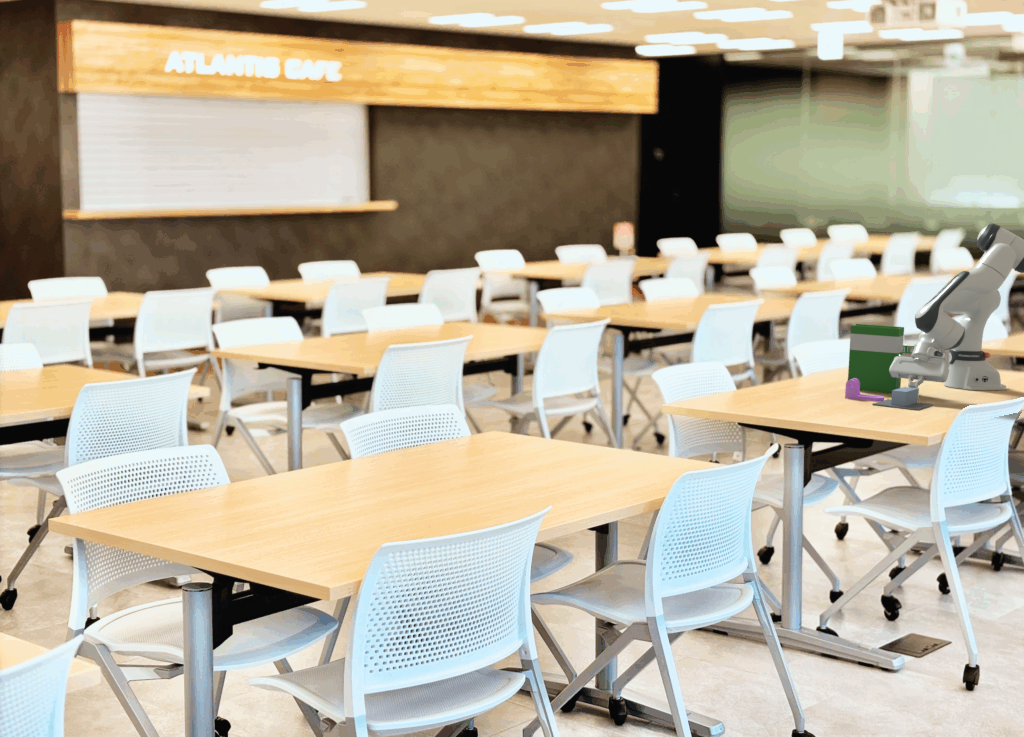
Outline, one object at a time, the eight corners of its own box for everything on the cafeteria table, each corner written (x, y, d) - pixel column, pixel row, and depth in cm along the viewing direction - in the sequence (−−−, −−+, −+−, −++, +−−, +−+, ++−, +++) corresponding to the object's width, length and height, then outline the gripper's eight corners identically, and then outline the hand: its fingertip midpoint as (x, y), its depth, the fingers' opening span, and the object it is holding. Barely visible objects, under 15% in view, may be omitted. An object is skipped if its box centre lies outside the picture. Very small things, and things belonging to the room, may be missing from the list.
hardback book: (847, 389, 492) (851, 325, 489) (852, 387, 498) (856, 323, 495) (895, 394, 483) (899, 328, 480) (900, 391, 490) (904, 327, 486)
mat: (888, 400, 468) (888, 399, 468) (932, 405, 458) (932, 404, 458) (872, 404, 457) (872, 403, 457) (917, 410, 447) (917, 409, 447)
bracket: (845, 398, 471) (846, 379, 470) (848, 396, 476) (849, 377, 475) (881, 402, 465) (883, 382, 464) (885, 400, 470) (886, 380, 469)
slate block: (904, 386, 465) (891, 390, 455) (919, 388, 462) (906, 391, 452) (904, 400, 465) (891, 404, 456) (918, 402, 462) (905, 406, 453)
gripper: (894, 348, 474) (881, 378, 467) (950, 354, 461) (938, 384, 455) (897, 360, 478) (885, 389, 471) (954, 365, 465) (942, 396, 459)
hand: (912, 387), depth 463 cm, fingers closed, pressing on slate block
